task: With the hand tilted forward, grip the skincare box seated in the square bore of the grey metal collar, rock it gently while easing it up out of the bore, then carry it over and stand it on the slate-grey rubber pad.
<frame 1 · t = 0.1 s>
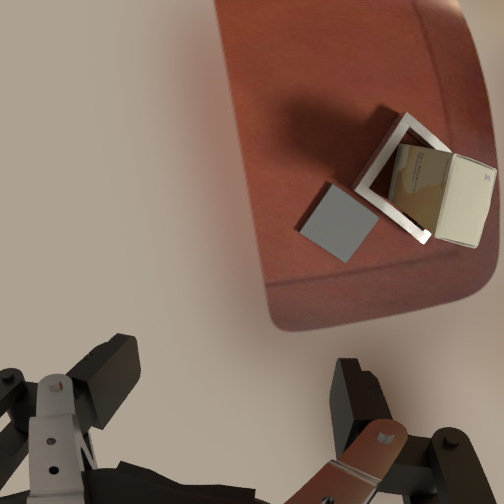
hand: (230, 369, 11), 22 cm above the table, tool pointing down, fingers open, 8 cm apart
skincare box: (409, 176, 29), resting in grey square frame
grey square frame: (410, 177, 29), on the table
pad: (339, 223, 31), on the table
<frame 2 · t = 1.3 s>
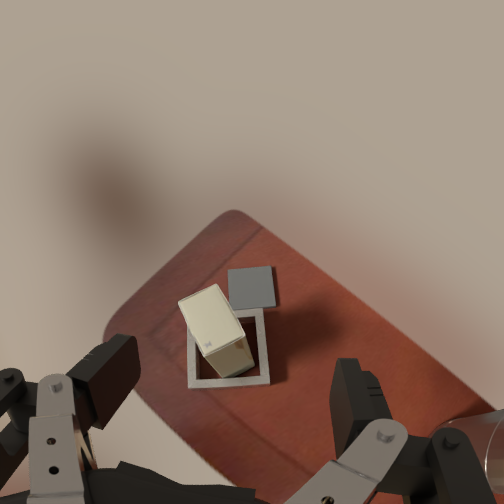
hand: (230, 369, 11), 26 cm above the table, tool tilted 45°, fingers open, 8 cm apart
skincare box: (228, 352, 38), resting in grey square frame
grey square frame: (228, 352, 38), on the table
pad: (251, 289, 42), on the table
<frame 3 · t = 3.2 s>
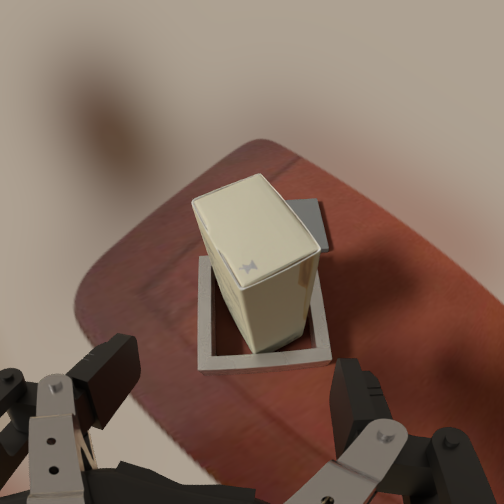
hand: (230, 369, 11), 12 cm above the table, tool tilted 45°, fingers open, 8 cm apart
skincare box: (261, 316, 25), resting in grey square frame
grey square frame: (261, 315, 25), on the table
pad: (291, 227, 30), on the table
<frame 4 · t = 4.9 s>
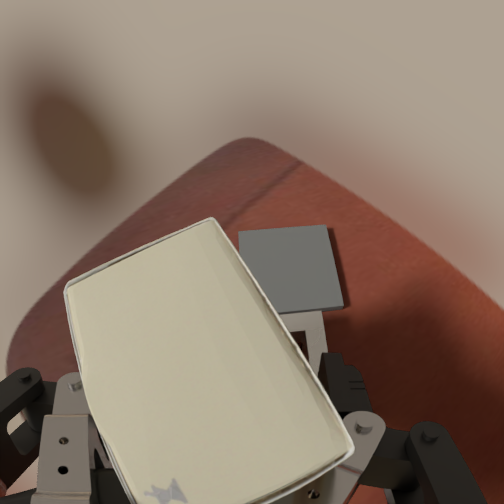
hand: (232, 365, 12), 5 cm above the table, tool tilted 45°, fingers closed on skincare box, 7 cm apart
skincare box: (240, 410, 16), resting in grey square frame, touching gripper
grey square frame: (240, 410, 16), on the table
pad: (287, 271, 20), on the table
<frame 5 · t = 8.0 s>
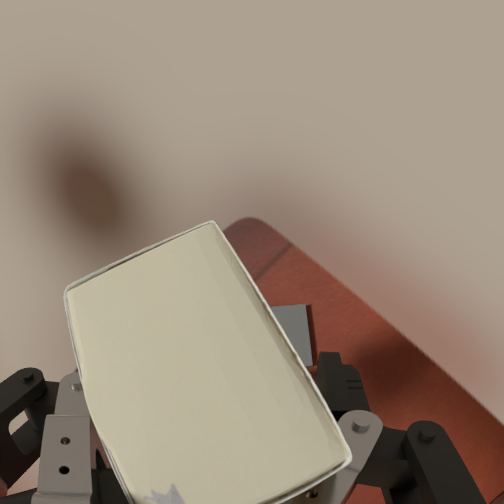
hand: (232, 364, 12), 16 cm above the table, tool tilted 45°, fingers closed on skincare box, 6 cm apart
skincare box: (242, 407, 16), point 10 cm above the table, touching gripper
pad: (276, 338, 28), on the table
when the fingers open (7 cm above the table, at t = 10.7 s): skincare box drops 1 cm, resting on pad.
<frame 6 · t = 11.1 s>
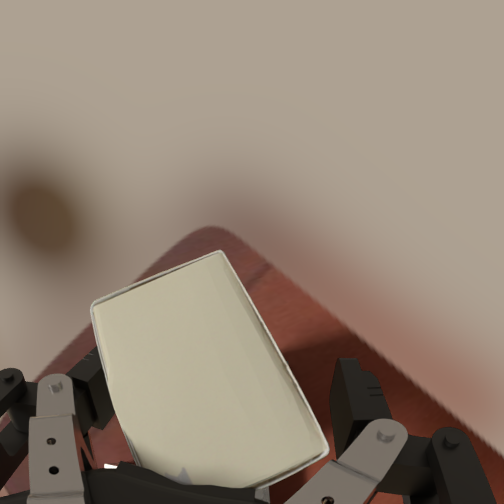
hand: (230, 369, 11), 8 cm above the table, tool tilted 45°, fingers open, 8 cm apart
skincare box: (240, 411, 17), resting on pad
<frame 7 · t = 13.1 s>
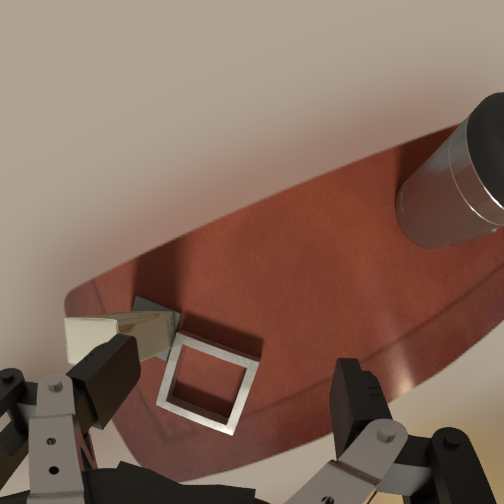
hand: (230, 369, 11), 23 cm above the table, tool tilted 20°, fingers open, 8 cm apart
skincare box: (150, 328, 35), resting on pad
grey square frame: (209, 380, 34), on the table
pad: (152, 327, 35), on the table
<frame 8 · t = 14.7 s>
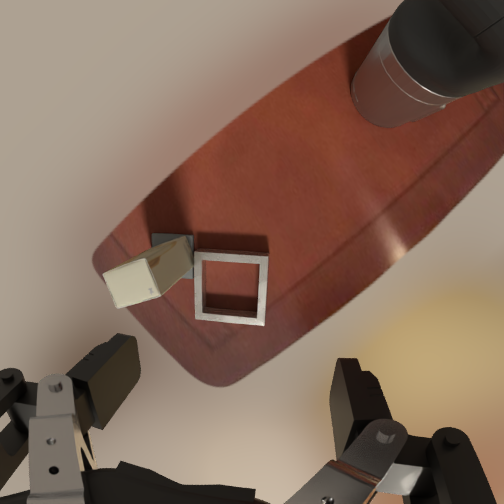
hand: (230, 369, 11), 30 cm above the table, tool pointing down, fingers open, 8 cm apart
skincare box: (171, 256, 42), resting on pad
grey square frame: (232, 284, 43), on the table
pad: (173, 255, 43), on the table
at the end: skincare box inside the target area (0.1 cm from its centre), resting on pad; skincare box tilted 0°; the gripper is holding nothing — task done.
